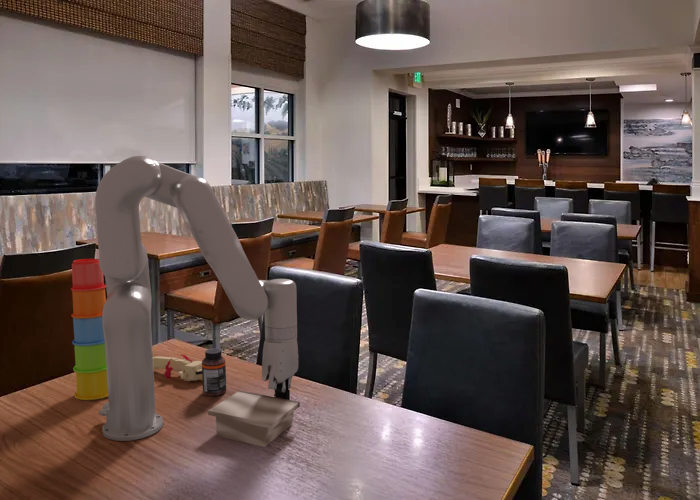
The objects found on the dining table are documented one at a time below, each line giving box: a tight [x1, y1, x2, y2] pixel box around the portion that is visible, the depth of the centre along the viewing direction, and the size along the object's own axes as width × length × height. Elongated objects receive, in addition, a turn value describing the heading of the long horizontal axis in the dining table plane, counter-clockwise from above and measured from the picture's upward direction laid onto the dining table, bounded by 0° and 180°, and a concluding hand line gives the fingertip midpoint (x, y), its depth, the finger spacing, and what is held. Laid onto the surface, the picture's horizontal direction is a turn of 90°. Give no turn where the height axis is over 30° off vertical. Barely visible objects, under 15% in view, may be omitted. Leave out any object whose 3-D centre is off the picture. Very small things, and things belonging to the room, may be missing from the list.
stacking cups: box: [70, 258, 108, 401], centre depth 141 cm, size 10×10×35 cm
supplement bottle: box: [201, 347, 227, 397], centre depth 144 cm, size 6×6×11 cm
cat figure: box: [153, 354, 202, 382], centre depth 157 cm, size 10×9×25 cm
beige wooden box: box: [207, 390, 301, 448], centre depth 124 cm, size 12×16×6 cm
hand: (282, 405), depth 135 cm, fingers closed
